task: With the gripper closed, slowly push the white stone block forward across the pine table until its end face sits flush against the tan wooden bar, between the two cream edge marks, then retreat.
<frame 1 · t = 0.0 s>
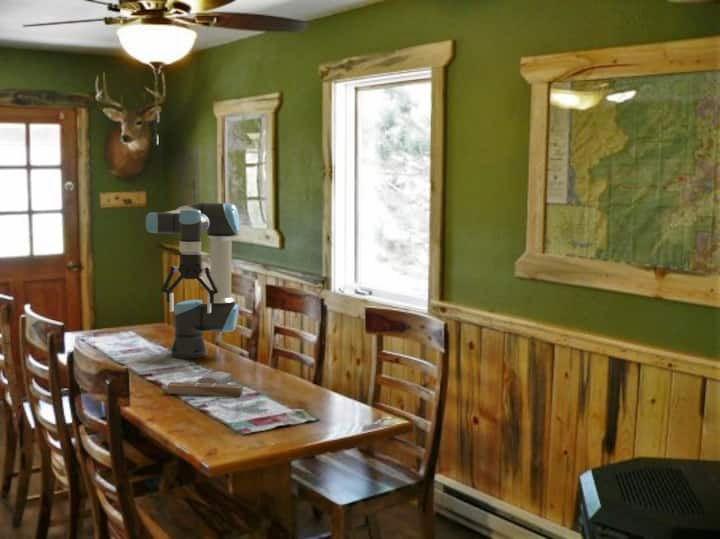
hand: (190, 312, 280), 28 cm above the table, fingers open, 13 cm apart
tan wooden bar: (205, 393, 278), on the table
stone block: (213, 384, 291), on the table
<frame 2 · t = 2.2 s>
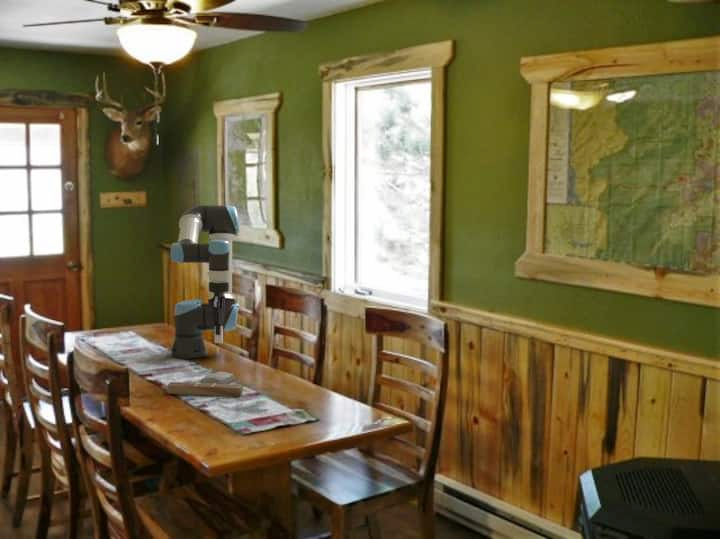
hand: (218, 342, 298), 13 cm above the table, fingers closed
stone block: (216, 384, 291), on the table
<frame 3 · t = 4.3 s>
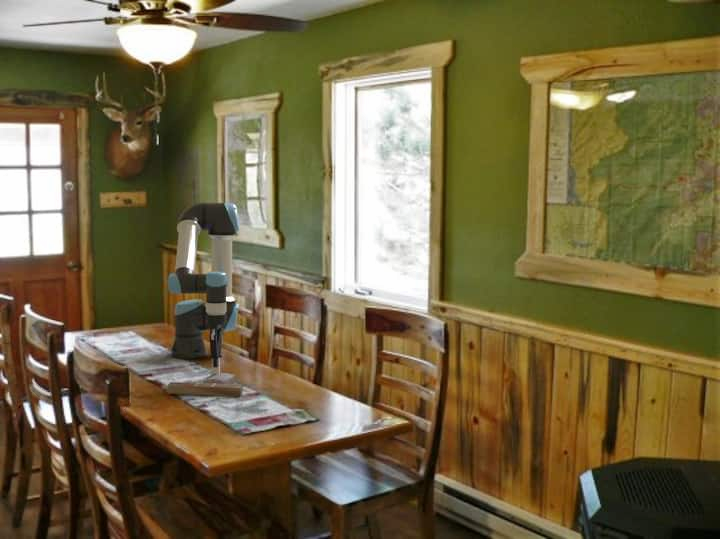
hand: (216, 374, 295), 2 cm above the table, fingers closed
stone block: (218, 386, 289), on the table, touching gripper
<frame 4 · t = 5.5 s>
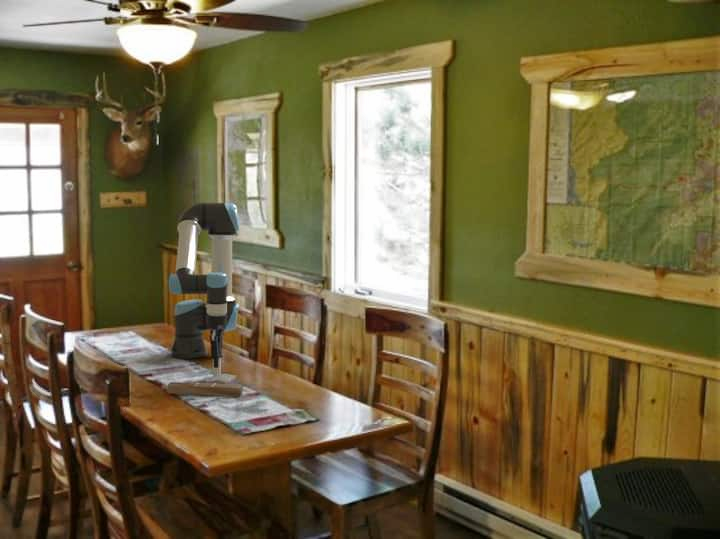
hand: (216, 375, 297), 2 cm above the table, fingers closed
stone block: (219, 387, 288), on the table
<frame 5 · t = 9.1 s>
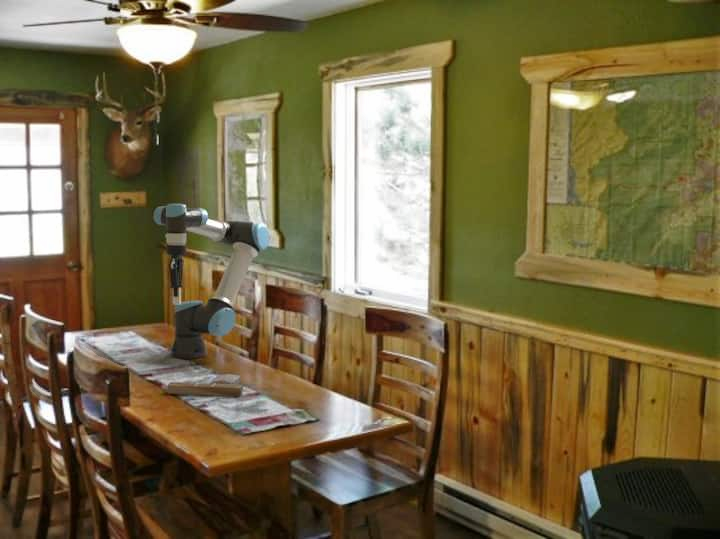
hand: (176, 304, 304), 26 cm above the table, fingers closed
stone block: (224, 387, 287), on the table
at the end: stone block inside the target area on the table beside the tan wooden bar (5.1 cm from its centre), on the table; stone block tilted 0° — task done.
